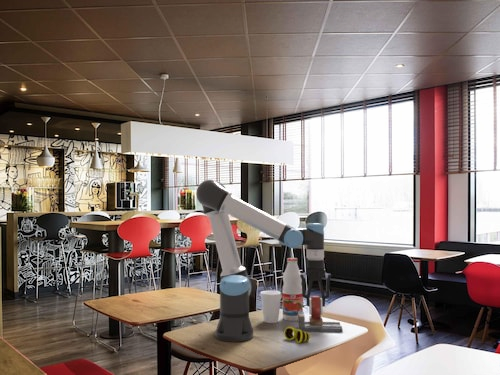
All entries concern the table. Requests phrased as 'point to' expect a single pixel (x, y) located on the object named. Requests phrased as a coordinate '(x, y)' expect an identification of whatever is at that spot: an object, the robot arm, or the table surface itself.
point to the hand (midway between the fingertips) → (315, 313)
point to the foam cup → (270, 305)
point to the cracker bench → (325, 327)
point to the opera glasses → (296, 335)
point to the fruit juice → (292, 291)
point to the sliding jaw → (315, 311)
